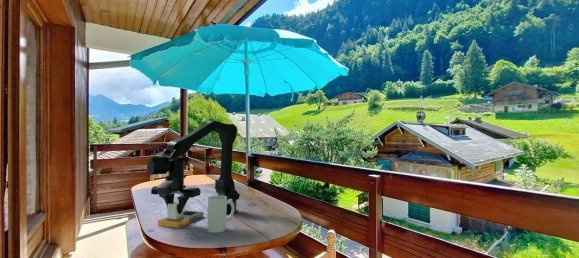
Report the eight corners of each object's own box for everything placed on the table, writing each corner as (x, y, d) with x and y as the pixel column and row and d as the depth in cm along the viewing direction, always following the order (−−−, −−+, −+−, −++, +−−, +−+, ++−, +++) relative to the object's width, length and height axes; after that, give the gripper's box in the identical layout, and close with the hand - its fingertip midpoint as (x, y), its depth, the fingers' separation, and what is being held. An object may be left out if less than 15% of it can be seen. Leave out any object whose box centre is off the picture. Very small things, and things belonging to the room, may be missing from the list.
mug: (210, 234, 109) (211, 200, 109) (204, 229, 115) (205, 196, 115) (237, 230, 115) (238, 197, 115) (230, 225, 120) (231, 194, 120)
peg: (182, 220, 122) (183, 202, 122) (176, 223, 118) (176, 204, 118) (173, 219, 123) (174, 201, 123) (167, 222, 119) (167, 203, 119)
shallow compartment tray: (203, 216, 132) (203, 212, 132) (178, 228, 115) (178, 222, 115) (185, 214, 134) (185, 210, 134) (157, 225, 118) (158, 220, 118)
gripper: (141, 174, 116) (140, 216, 115) (184, 177, 110) (183, 221, 110) (161, 170, 126) (160, 209, 126) (201, 173, 121) (200, 213, 121)
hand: (175, 213), depth 120 cm, fingers closed on peg, 4 cm apart
